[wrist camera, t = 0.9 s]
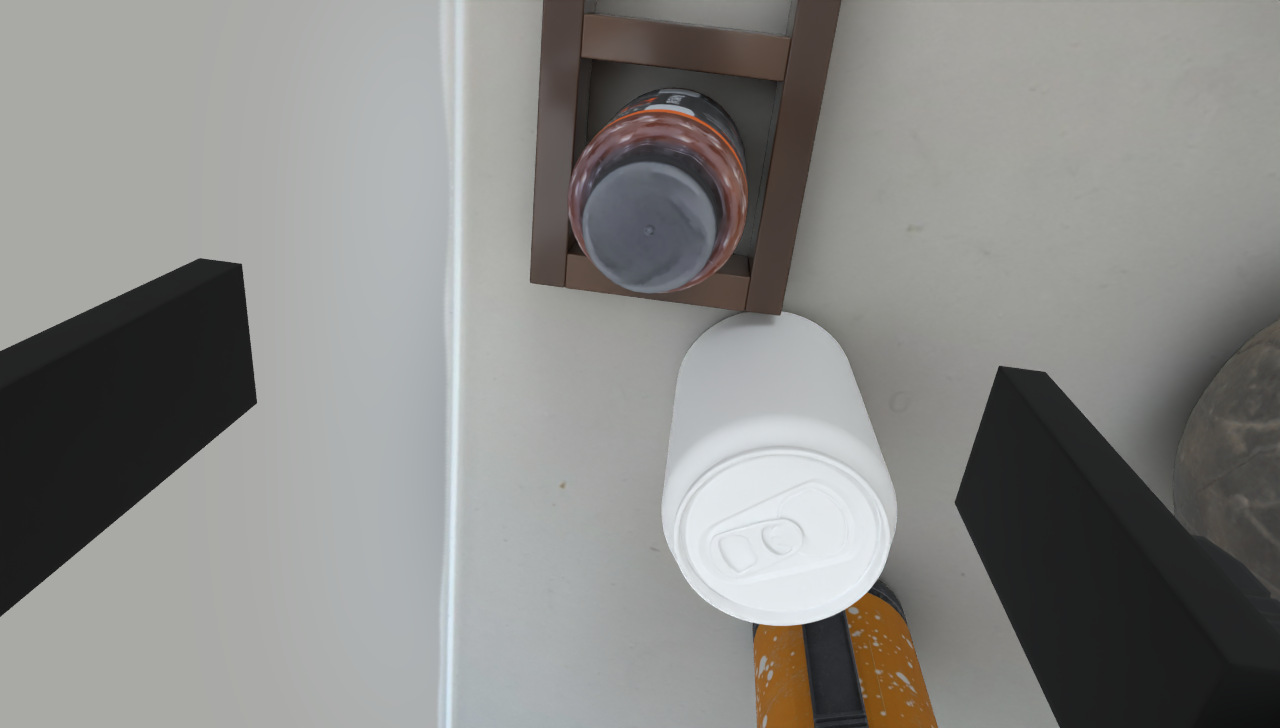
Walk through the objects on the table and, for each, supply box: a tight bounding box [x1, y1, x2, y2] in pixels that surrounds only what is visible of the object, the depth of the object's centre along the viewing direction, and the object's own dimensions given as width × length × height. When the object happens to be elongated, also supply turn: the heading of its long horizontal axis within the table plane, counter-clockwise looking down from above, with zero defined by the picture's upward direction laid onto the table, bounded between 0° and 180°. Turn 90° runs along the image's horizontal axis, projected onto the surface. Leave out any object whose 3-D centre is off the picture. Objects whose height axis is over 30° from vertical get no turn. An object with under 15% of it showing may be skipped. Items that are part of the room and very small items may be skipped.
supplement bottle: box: [567, 88, 748, 294], centre depth 28 cm, size 6×6×11 cm
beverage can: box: [661, 311, 897, 626], centre depth 32 cm, size 8×8×12 cm
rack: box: [530, 0, 841, 316], centre depth 30 cm, size 10×20×3 cm, turn 174°
